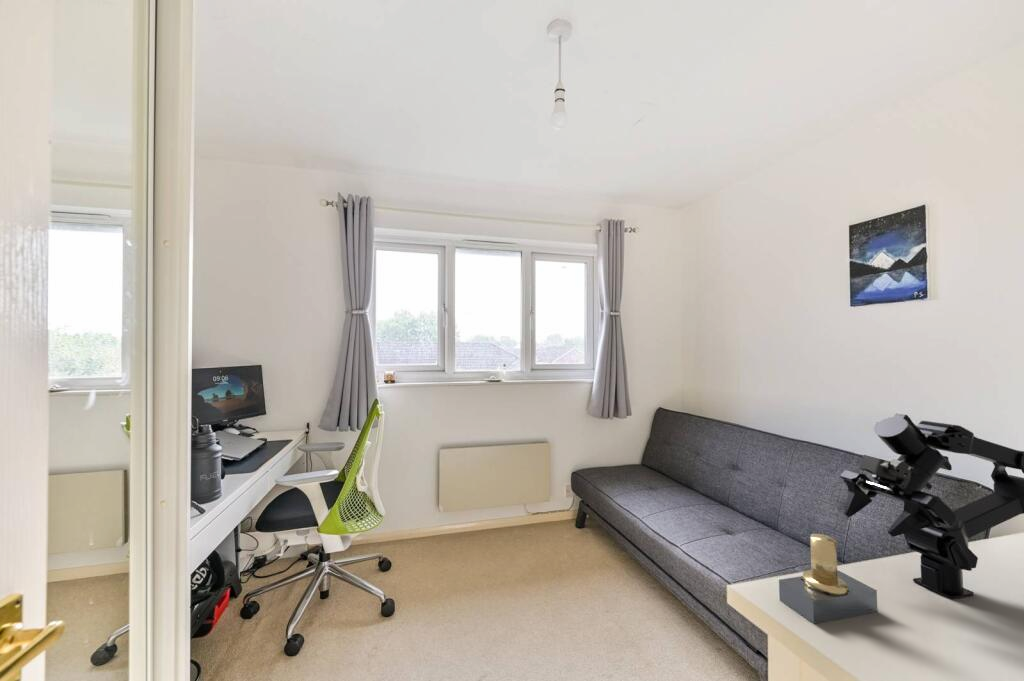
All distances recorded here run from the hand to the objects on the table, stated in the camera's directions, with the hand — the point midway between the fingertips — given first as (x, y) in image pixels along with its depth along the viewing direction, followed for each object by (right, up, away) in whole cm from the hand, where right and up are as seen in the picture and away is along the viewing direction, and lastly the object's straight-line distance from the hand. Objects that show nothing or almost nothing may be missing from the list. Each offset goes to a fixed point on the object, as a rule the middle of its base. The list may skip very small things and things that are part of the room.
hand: (866, 524), depth 80 cm
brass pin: (-13, -13, -5) cm, 19 cm away
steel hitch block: (-12, -13, -5) cm, 19 cm away
